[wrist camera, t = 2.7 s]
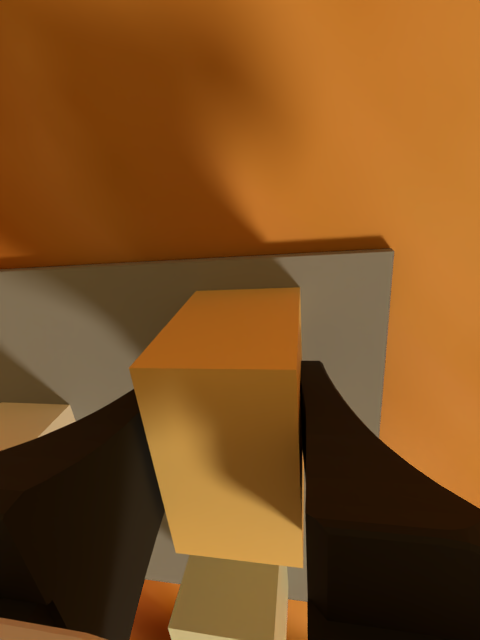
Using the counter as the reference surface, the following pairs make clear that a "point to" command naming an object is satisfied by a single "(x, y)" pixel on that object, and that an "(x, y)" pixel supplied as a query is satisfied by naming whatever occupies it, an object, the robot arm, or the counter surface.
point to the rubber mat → (155, 313)
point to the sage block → (230, 601)
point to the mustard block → (228, 424)
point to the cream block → (30, 421)
